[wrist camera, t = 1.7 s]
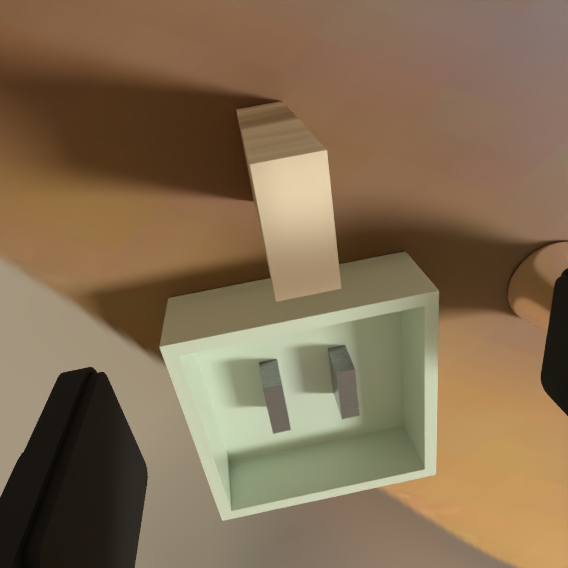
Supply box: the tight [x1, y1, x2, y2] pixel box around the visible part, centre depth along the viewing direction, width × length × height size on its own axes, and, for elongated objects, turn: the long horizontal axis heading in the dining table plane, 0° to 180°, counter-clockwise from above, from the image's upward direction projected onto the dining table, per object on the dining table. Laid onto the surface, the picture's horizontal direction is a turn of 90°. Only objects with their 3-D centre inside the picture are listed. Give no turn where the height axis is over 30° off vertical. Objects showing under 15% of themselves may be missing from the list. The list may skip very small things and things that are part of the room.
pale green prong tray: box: [159, 251, 439, 521], centre depth 30 cm, size 15×15×5 cm
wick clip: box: [259, 345, 360, 434], centre depth 30 cm, size 4×6×2 cm
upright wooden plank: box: [236, 101, 341, 302], centre depth 20 cm, size 5×2×11 cm, turn 9°
